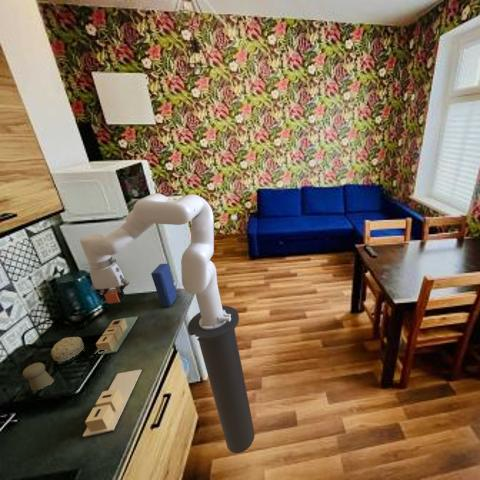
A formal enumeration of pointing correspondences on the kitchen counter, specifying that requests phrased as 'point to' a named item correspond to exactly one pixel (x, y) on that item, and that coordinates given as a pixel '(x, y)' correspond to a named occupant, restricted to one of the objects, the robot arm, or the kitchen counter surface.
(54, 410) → the kitchen counter surface
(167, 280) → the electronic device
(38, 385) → the cork
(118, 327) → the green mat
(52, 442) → the kitchen counter surface
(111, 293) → the letter block
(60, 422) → the kitchen counter surface
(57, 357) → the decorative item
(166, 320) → the kitchen counter surface
